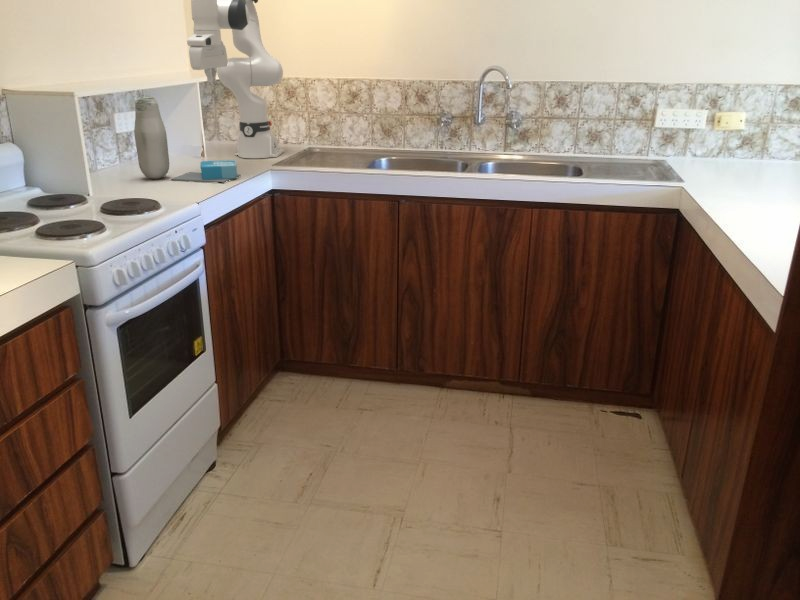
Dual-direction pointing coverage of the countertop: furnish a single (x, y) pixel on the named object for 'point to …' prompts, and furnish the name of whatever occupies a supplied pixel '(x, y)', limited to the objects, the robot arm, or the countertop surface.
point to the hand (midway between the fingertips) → (211, 81)
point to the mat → (197, 178)
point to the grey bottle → (150, 138)
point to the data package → (218, 169)
